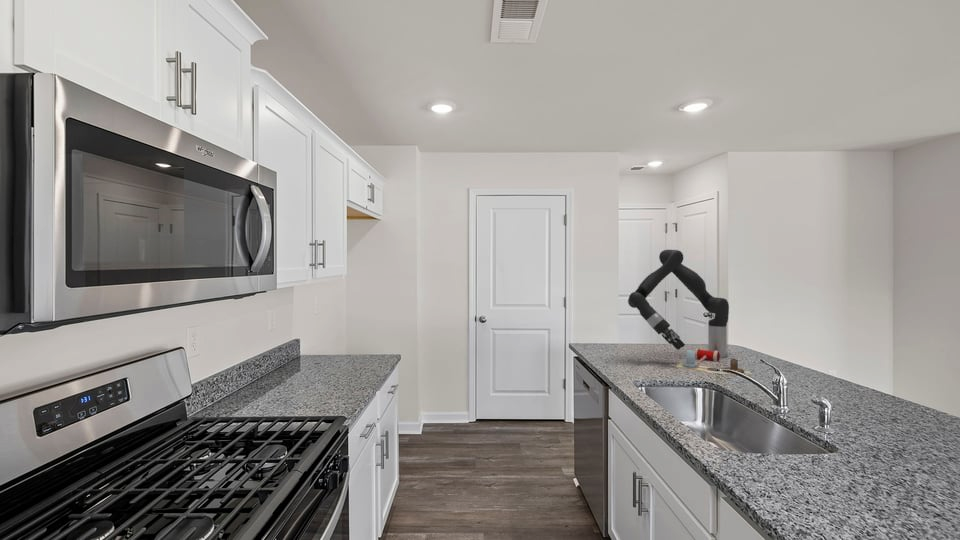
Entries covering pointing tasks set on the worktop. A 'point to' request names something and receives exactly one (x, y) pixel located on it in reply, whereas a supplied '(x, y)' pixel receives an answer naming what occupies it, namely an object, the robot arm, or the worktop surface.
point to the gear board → (708, 369)
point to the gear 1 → (690, 360)
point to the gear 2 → (734, 366)
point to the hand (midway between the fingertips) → (681, 347)
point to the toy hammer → (706, 355)
